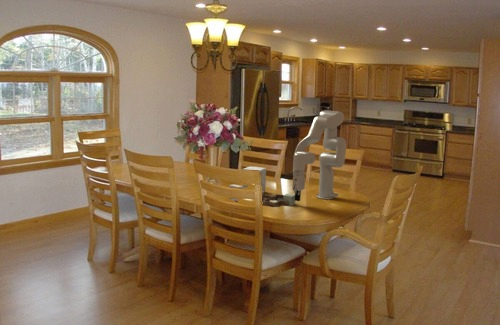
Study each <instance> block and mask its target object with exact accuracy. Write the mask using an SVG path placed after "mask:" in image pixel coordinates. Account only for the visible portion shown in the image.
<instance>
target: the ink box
mask: <svg viewBox="0 0 500 325" xmlns="http://www.w3.org/2000/svg"><path fill="white" fill-rule="evenodd" d="M229 188H240V189H243V186H242V185H238V184H229V185H228V189H229ZM229 198H230V197H229V196H228V199H229ZM230 199H231V200H233V201H235V202H238V201H239V199H236V198H230Z"/></svg>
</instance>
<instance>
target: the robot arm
mask: <svg viewBox="0 0 500 325" xmlns="http://www.w3.org/2000/svg"><path fill="white" fill-rule="evenodd" d="M344 118H345V115H344V113H343V112H342V111H338V110H321V111H320V112H319V115H317V116H315V117H314V118H313V121H312V123H311V126H310V128H309V131H308V134H307V135H306V136H305V137H304V138H303V139H302V140H301V141H300V142H299V143H298V144H297V145H296V148H295V150H294V152H293V153H294V154H293V163H292V164H293V166H292V176H293V177H292V184H291V185H292V188H291V189H292V191H293V194H294V195H295V202H296V201H297V202H300V201H301V193H302V191H303V190H305V185H306V180H305V178H306V177H305V175H306V174H305V171H306V165H312V164H314V163H315V161H316V160H317V159H316V155H315V153H313V152H310V151H304V150H305V149H306V148H307V147H308V146H310V145H313V144H316V143H318V142H320V141H321V138H322V134H323V132H324V134H323V135H324V136H323V141H322V142H323V145H322V146H323V148H324V149H325V150H326V151H324V152H322V153H320V154H319V157H318V161H319V162H318V163H319V182H318V184H319V185H318V194H316V198H318V199H320V200H321V199H323V200H333V199H335V197H336V198H337V197H338V198H339V193H335V191H334V178H335V177H334V176H335V172H334V169H333V168H338V169H339V168H342V167H343V166H344V165H345V162H346V161H345V160H346V152H347V142H346V139H345V138H344V137H339V136H338V126H340V125H341V124H342V123H343V122H344ZM330 151H331V152H330Z"/></svg>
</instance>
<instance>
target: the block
mask: <svg viewBox="0 0 500 325" xmlns="http://www.w3.org/2000/svg"><path fill="white" fill-rule="evenodd" d="M282 195H283V201H288V206H290V207H292V206H294V205H296V201H295V194H291V193H285V194H282Z"/></svg>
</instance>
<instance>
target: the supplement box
mask: <svg viewBox="0 0 500 325" xmlns="http://www.w3.org/2000/svg"><path fill="white" fill-rule="evenodd" d="M243 170H259V171H260V173H261V186H262V191H264V193H265V192H266V186H267V185H266V183H267V182H266V181H267V167H260V166H251V165H250V166H248V167H245V168H242V171H243ZM241 186H243V188H246V187H248V185H242V184H241Z"/></svg>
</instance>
